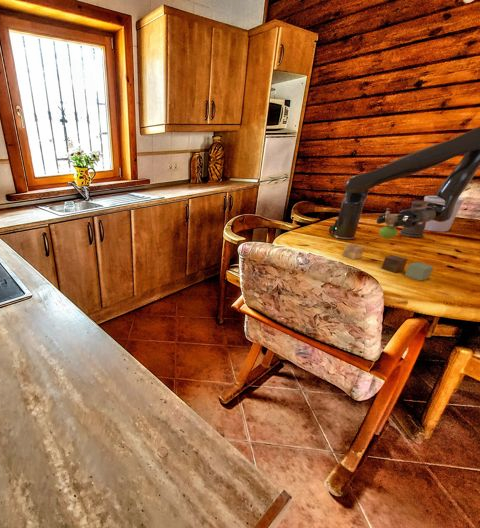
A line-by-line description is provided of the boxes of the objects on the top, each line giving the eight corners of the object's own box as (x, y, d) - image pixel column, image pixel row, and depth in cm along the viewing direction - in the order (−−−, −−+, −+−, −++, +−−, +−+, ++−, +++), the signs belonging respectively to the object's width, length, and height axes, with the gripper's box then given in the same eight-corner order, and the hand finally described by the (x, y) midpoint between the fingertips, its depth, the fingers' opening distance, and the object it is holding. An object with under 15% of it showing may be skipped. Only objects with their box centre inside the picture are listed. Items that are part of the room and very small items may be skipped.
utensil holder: (427, 224, 167) (438, 194, 160) (458, 230, 153) (472, 198, 146) (406, 226, 165) (417, 196, 158) (436, 233, 151) (449, 201, 144)
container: (420, 234, 151) (432, 201, 144) (424, 238, 144) (438, 204, 137) (398, 232, 156) (409, 200, 149) (401, 236, 149) (413, 203, 142)
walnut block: (381, 268, 115) (385, 257, 113) (389, 266, 117) (393, 255, 115) (395, 272, 111) (399, 261, 109) (403, 270, 113) (407, 259, 111)
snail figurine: (386, 235, 119) (395, 207, 114) (398, 240, 113) (407, 211, 108) (372, 236, 119) (380, 208, 115) (383, 240, 114) (392, 211, 109)
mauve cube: (342, 255, 129) (345, 245, 127) (349, 254, 131) (352, 244, 129) (353, 259, 125) (356, 249, 123) (361, 257, 127) (364, 247, 125)
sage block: (404, 275, 109) (409, 264, 107) (412, 273, 110) (417, 261, 108) (420, 280, 104) (425, 268, 102) (428, 278, 106) (433, 266, 104)
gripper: (395, 205, 122) (369, 210, 117) (437, 211, 110) (411, 217, 105) (389, 221, 125) (364, 227, 120) (430, 229, 113) (404, 236, 108)
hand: (386, 222), depth 113 cm, fingers closed on snail figurine, 5 cm apart
